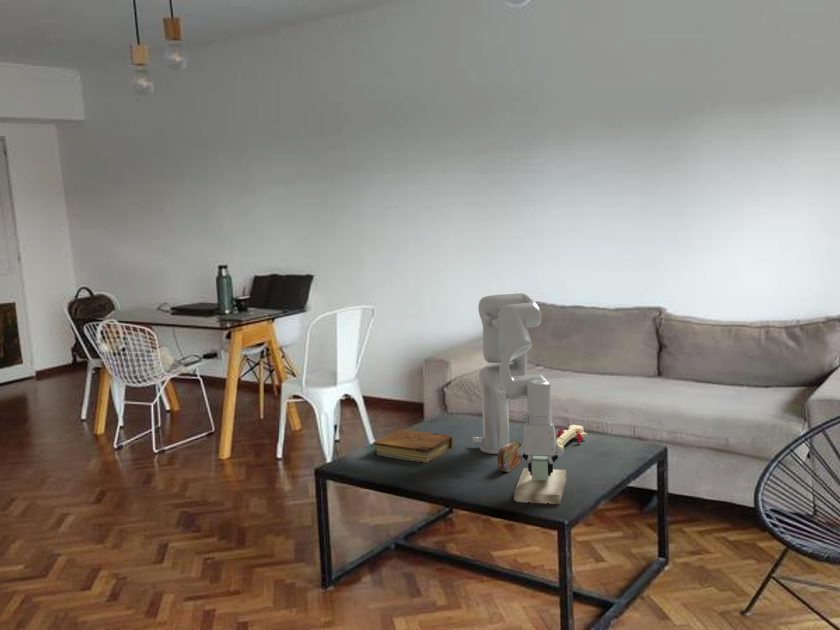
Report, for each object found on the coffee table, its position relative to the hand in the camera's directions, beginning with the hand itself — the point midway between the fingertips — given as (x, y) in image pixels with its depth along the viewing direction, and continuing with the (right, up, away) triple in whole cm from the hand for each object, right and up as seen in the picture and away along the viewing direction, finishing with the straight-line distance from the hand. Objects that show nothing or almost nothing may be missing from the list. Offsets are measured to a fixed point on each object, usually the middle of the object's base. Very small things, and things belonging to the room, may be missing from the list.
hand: (540, 473), depth 260 cm
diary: (-41, -1, +44) cm, 60 cm away
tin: (-7, -3, +22) cm, 24 cm away
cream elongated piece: (+16, +2, +44) cm, 47 cm away
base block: (0, -5, +1) cm, 5 cm away
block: (0, -1, 0) cm, 1 cm away
